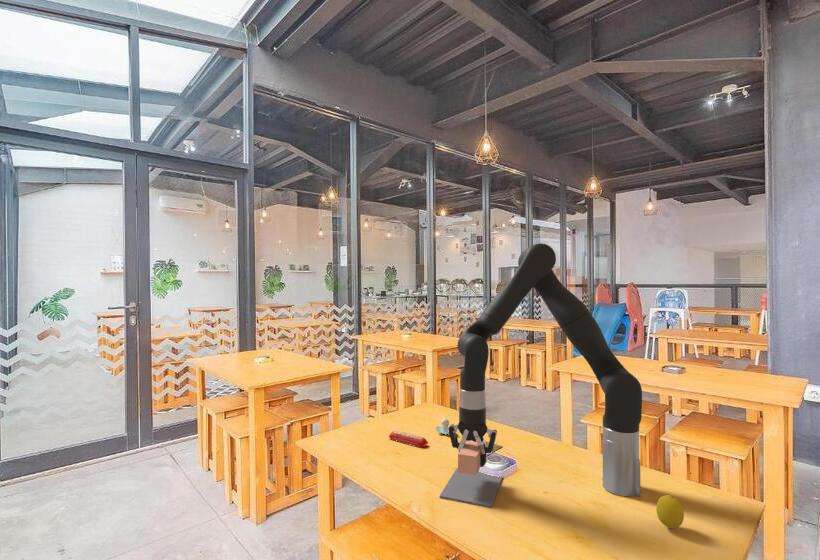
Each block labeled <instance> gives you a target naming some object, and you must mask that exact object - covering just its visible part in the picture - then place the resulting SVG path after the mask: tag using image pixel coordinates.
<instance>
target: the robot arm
mask: <svg viewBox="0 0 820 560" xmlns="http://www.w3.org/2000/svg"><path fill="white" fill-rule="evenodd" d="M517 263H518V268H517V270H516V272H514V274H513V276H512V277H511V278H510V280H509V281H508V282H507V284H506V285H505V286H504V287H503V288H502V289H501V290H500V291H498V293H497V294H496V295H495V297H494V298H492V300H491V301H490V302H489V303H488V305H487V306H486V307H485V309H484V310H483V312H482V313H481V314H480V316H479V317H478V318H477V319H476V320H474V322H472V324H471V325H469V326H468V327H467V328H466V329H465V330H464V331H463V332H462V334H461V335H460V337H459V339H458V341H457V345H456V346H457V350H458V352H459V353H460V355H461V356H463V357H464V364H463V368H462V369H461V370H460V374H459V393H458V394H459V395H458V396H459V397H458V407H459V408H458V418H459V419H458V423H457V424H453V423H451V424H449V425H450V426H449V425H448V430H449V434H450V435H449V438H450V443H451V446H452V448H455V449H457V450H458V453H459V452H460V450H461V449H462V447H463V446H464V444H465V443H466V442H467V441H474V442H477V445H478V447H479V449H480V451H481V454H480V468H484V467H485V465H486V464H487V456H486V453H491V452H492V450H493V446H494V444H496V443H495V442H496V438H497V434H498V430H496V429H490V428H489V427H488V426H487V396H486V395H487V394H486V370H487V368H488V360H489V355H490V354H489V353H490V352H489V344H488V342H487V341H488V340H489V338H491V337H492V336H495V335H497V334H499V333H500V332H501V330H502V329H503V328H504V326H505V325H506V324H507V323H508V321H509V320H510V319H511V317H512V316H513V314H514V313H515V311H516V310H517V308H519V306H520V304H521V303H522V302H523V300H524V299H525V297H526V296H527V295H528V294H529V293H530V292H531V290H532V289H533V288H534V289H535V290H536V292H537V293H538V294H539V296H540V297H541V300H542V301H543V302H544V303H545V305H546V307H547V309H548V310H549V312H550V313H551V315H552V316H553V318H554V319H555V321H556V323H557V324H558V326H559V327H560V329H561V331H562V332H563V333H564V335H565V337H566V338H567V339H568V341H569V342H570V343H571V344H572V345H573V347H574V348H575V350H577V352H578V353H580V355H582V357H583V359H584V360H585V361H586V362H587V364H588V365H589V366H590V369H591V370H592V372H593V374H594V376H595V377H596V379H597V382H598V383H599V385H600V388H601V389H602V392H603V393H604V397H605V398H604V399H605V400H604V414H603V415H602V478H601V479H602V487H603V488H604V490H605V491H607V492H609V493H612V494H614V495H617V496H622V497H634V496H637V497H641V459H640V424H641V422H642V413H643V412H642V411H643V389H642V385H641V382H640V380H639V379H637V377H636V376H635V375H633V374H632V373H631V372H629V371H628V369H627V368H626V367H625V366H624V365H623V364H622V363H621V361H620V360H619V359H618V358H617V357H616V355H615V354H614V353H613V351H612V350H611V348H610V346H609V345H608V342H607V341H606V338H605V336H604V334H603V332H602V330H601V328H600V325H599V324H598V322H597V321H596V319H595V318H594V316H593V315H592V313H591V312H590V310H589V309H588V308H587V306H586V305H585V304H584V302H582V301H581V299H579V298H578V297H577V296H576V295H575V294H574V293H572V292H571V291H570V290H569V289H567V287H565V285H563V284H562V282H561V281H560V280H559V278H558V277H557V275H556V274H555V272H554V270H553V269H554V267H555V264H556V263H557V256H556V252H555V250H554V249H553V247H552V246H550V245H548V244H547V243H541V242H540V243H535V244H531V245H530V246H529V247H527V248H526V249H525V250H523V251H522V252H521V253H520V255H519V257H518V260H517ZM458 431H459V433H460V434H461V439H460V441H459V439H458V436H457V432H458ZM486 434H487V438H489V441H488V442H489V445H488V447H486V445H485V441H486V440H485V439H484V436H485V435H486Z"/></svg>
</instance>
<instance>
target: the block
mask: <svg viewBox="0 0 820 560" xmlns="http://www.w3.org/2000/svg"><path fill="white" fill-rule="evenodd" d="M457 453H458V454H457V468H458V472H459V473H465V474H471V475H477V473H478V472H480V471H479V470H480V468H481V467H480V454H481V451H480V449H479V447H478V445H477V442H474V441H466V443H465V444H464V446H463V447H462V449H461V450H460V452H459V451H458V452H457Z"/></svg>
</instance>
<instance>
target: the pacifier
mask: <svg viewBox="0 0 820 560" xmlns="http://www.w3.org/2000/svg"><path fill="white" fill-rule="evenodd" d="M441 425H442V426H440V425H439V426H438V425H437V426H436V427H435V429H436V432H438V433H439V434H441V433H442V434H449V430H448V428H449V425H450V421H449V419H447V418H445V417H444V418H442V419H441ZM442 434H441V435H442Z"/></svg>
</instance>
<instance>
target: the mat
mask: <svg viewBox="0 0 820 560" xmlns="http://www.w3.org/2000/svg"><path fill="white" fill-rule="evenodd" d="M481 472H482V471H478V473H477V475H471V474H465V473H459V472H458V467H456V469H455V470H454V472H453V474H452V475H451V477H450V478H449V480H448V481H447V483H446V485H445V486H444V488H443V490H441V491H442V492H441V493H440V494H439V496H438V497H439V498H440V499H444V500H450V501H454V502H460V503H465V504H471V505H476V506H481V507H485V508H492V507H493V504H494V501H495V499H496V498H497V497H496V496H497V493H498V491H499V488H500V485H501V483H502V480H503V478H502V476H503V475H502V476H501V477H500V476H499V477H497V476H491V475H487V474H484V473H485V472H484V473H481Z"/></svg>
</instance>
